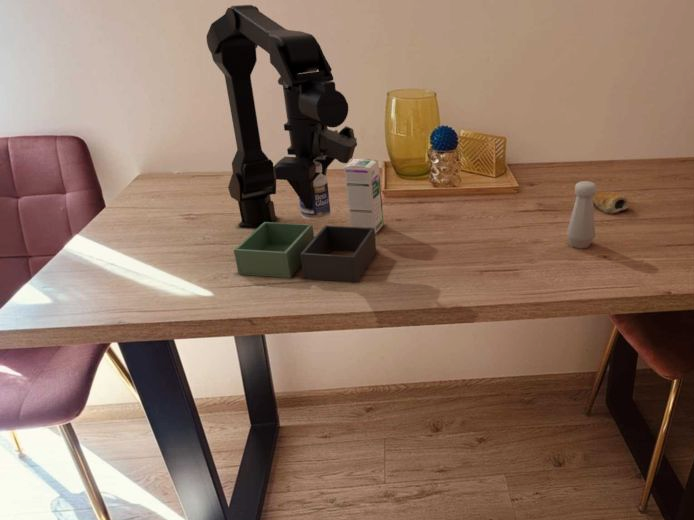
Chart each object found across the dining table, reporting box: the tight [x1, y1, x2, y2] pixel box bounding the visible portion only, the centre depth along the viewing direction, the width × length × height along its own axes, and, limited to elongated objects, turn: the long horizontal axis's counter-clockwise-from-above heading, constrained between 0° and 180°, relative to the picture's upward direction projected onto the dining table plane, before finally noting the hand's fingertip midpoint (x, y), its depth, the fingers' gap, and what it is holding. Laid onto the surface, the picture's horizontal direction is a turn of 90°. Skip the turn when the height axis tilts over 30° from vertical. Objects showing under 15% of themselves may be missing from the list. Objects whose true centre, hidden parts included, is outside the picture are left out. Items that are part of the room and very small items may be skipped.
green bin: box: [233, 221, 315, 279], centre depth 125 cm, size 10×14×5 cm
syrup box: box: [343, 158, 385, 235], centre depth 136 cm, size 6×6×14 cm
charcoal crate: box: [300, 224, 377, 283], centre depth 123 cm, size 10×14×5 cm
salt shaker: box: [566, 180, 598, 249], centre depth 129 cm, size 6×6×13 cm
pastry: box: [593, 191, 630, 215], centre depth 151 cm, size 9×7×4 cm
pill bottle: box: [298, 161, 331, 221], centre depth 117 cm, size 5×5×10 cm
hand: (314, 203), depth 118 cm, fingers closed on pill bottle, 5 cm apart
